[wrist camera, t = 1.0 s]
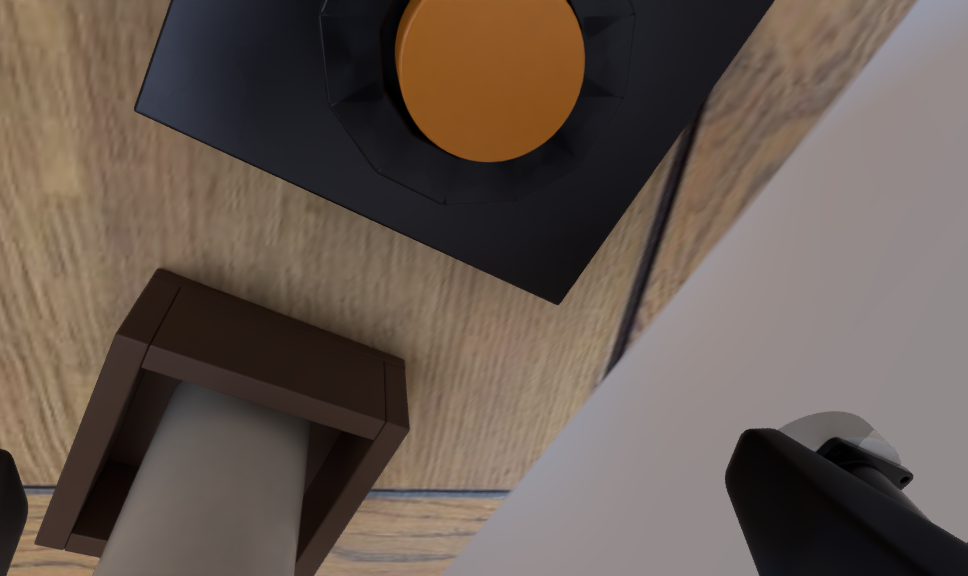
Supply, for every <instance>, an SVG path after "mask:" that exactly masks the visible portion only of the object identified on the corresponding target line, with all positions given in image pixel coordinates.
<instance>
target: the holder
mask: <svg viewBox="0 0 968 576" xmlns="http://www.w3.org/2000/svg"><path fill="white" fill-rule="evenodd" d="M183 381H185V382H189V383H192V384H195V385H198V386H201V387H205V388H208V389H211V390H214V391H217V392H221V393H224V394H227V395H230V396H233V397H237V398H240V399H243V400H246V401H249V402H253V403H256V404H259V405H262V406H265V407H269V408H272V409H275V410H278V411H281V412H285V413H288V414H291V415H294V416H297V417H301V418H304V419H307V420H310V421H312V429H311V437H310V446H309V454H308V463H307V471H306V480H305V488H304V497H303V505H302V514H301V522H300V531H299V539H298V548H297V557H296V565H295V574H294V576H314V575H315V573H316V571H317V570H318V568H319V567H320V565H321V564H322V562H323V561H324V559H325V558H326V556H327V555H328V553H329V552H330V550H331V549H332V547H333V546H334V544H335V543H336V541H337V540H338V538H339V537H340V535H341V534H342V532H343V530H344V529H345V527H346V526H347V524H348V523H349V521H350V520H351V518H352V517H353V515H354V514H355V512H356V511H357V509H358V508H359V506H360V505H361V503H362V502H363V500H364V499H365V497H366V496H367V494H368V493H369V491H370V489H371V488H372V486H373V485H374V483H375V482H376V480H377V479H378V477H379V476H380V474H381V473H382V471H383V470H384V468H385V467H386V465H387V464H388V462H389V461H390V459H391V458H392V456H393V455H394V453H395V452H396V450H397V448H398V447H399V445H400V444H401V442H402V441H403V439H404V438H405V436H406V435H407V433H408V432H409V430H410V427H409V415H408V403H407V390H406V378H405V361H404V360H402V359H399V358H397V357H394V356H391V355H389V354H386V353H383V352H381V351H378V350H375V349H373V348H370V347H367V346H365V345H362V344H359V343H357V342H354V341H351V340H348V339H346V338H343V337H340V336H338V335H335V334H332V333H330V332H327V331H324V330H322V329H319V328H316V327H314V326H311V325H308V324H306V323H303V322H300V321H298V320H295V319H292V318H290V317H287V316H284V315H282V314H279V313H276V312H273V311H271V310H268V309H265V308H263V307H260V306H257V305H255V304H252V303H249V302H247V301H244V300H241V299H239V298H236V297H233V296H231V295H228V294H225V293H223V292H220V291H217V290H215V289H212V288H209V287H207V286H204V285H201V284H198V283H196V282H193V281H190V280H188V279H185V278H182V277H180V276H177V275H174V274H172V273H169V272H166V271H164V270H161V269H157V270H156V271H155V273H154V275H153V276H152V278H151V279H150V281H149V282H148V284H147V286H146V287H145V289H144V290H143V292H142V293H141V295H140V296H139V298H138V300H137V301H136V303H135V304H134V306H133V307H132V309H131V311H130V312H129V314H128V315H127V317H126V318H125V320H124V321H123V323H122V325H121V326H120V328H119V329H118V331H117V332H116V334H115V336H114V339H113V342H112V344H111V347H110V349H109V352H108V355H107V357H106V360H105V362H104V365H103V367H102V370H101V373H100V375H99V378H98V380H97V383H96V385H95V388H94V391H93V393H92V396H91V398H90V401H89V403H88V406H87V409H86V411H85V414H84V416H83V419H82V421H81V424H80V427H79V429H78V432H77V434H76V437H75V439H74V442H73V445H72V447H71V450H70V452H69V455H68V457H67V460H66V463H65V465H64V468H63V470H62V473H61V475H60V478H59V481H58V483H57V486H56V488H55V491H54V493H53V496H52V499H51V501H50V504H49V506H48V509H47V511H46V514H45V517H44V519H43V522H42V524H41V527H40V529H39V532H38V535H37V537H36V540H35V545H40V546H45V547H50V548H55V549H60V550H63V549H64V548H65V551H69V552H74V553H79V554H84V555H89V556H94V557H99V558H100V557H101V554H102V552H103V550H104V547H105V545H106V543H107V540H108V538H109V536H110V534H111V531H112V529H113V527H114V524H115V522H116V520H117V517H118V515H119V513H120V511H121V508H122V506H123V504H124V501H125V499H126V497H127V494H128V492H129V490H130V487H131V485H132V483H133V481H134V478H135V476H136V474H137V471H138V469H139V467H140V464H141V462H142V460H143V458H144V455H145V453H146V451H147V448H148V446H149V444H150V441H151V439H152V437H153V435H154V432H155V430H156V428H157V425H158V423H159V421H160V418H161V416H162V414H163V412H164V409H165V407H166V405H167V402H168V400H169V398H170V396H171V394H172V393H173V391H174V390H175V389H176V387H177V386H178V385H179V384H180V383H181V382H183Z"/></svg>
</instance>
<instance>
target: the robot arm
mask: <svg viewBox="0 0 968 576" xmlns="http://www.w3.org/2000/svg"><path fill="white" fill-rule="evenodd" d="M912 479H913V475H912V473H911V472H910V471H909V470H908V469H907V468H905V467H903V466H901V465H899V464H897V463H894V462H892V461H890V460H888V459H886V458H883V457H881V456H879V455H877V454H875V453H872V452H870V451H868V450H866V449H864V448H861V447H859V446H857V445H855V444H853V443H850V442H848V441H846V440H844V439H842V438H840V437H833V438H830V439H828V440H827V441H826V442H825V443H824V444H823V445H822V446H821V447H820V448H819V449H818V450H817V451H816V452H813V451H812V450H810V449H808V448H807V447H805V446H803V445H802V444H800V443H798V442H797V441H795V440H793V439H792V438H790V437H788V436H787V435H785V434H783V433H782V432H780V431H778V430H776V429H771V428H765V429H764V428H761V429H748V430H746V431H744V433H742V434H741V436H740V438H739V440H738V443H737V445H736V447H735V450H734V453H733V455H732V457H731V460H730V462H729V464H728V467H727V470H726V474H725V483H726V488H727V492H728V494H729V497H730V499H731V502H732V505H733V508H734V510H735V513H736V515H737V518H738V520H739V523H740V526H741V529H742V531H743V534H744V536H745V539H746V541H747V544H748V547H749V550H750V552H751V555H752V557H753V560H754V563H755V565H756V568H757V571H758V573H759V576H968V543H965V542H964V541H962V540H960V539H959V538H957V537H955V536H954V535H952V534H950V533H949V532H947V531H945V530H944V529H942V528H940V527H938V526H937V525H935V524H933V523H932V522H931V521H930V520H929V519H928V518H927V517H926V516H925V515H924V514H923V513H922V512H921V511H920V510H919V509H918V508H917V507H916V506H915V505H914V503H913V502H911V500H910V499H909V498H908V497H907V496H906V495H905V494H904V493H903V492H902V491H901V490H902V489H903V488H904V487H905V486H907V485H908V484H909V483H910V482H911V481H912ZM27 515H28V502H27V497H26V494H25V491H24V488H23V486H22V483H21V480H20V477H19V474H18V471H17V468H16V465H15V462H14V459H13V457H12V455H11V454H10V453H9V452H8V451H6V450H3V449H0V576H6V575H7V572H8V570H9V567H10V564H11V562H12V559H13V556H14V553H15V551H16V548H17V545H18V542H19V540H20V537H21V534H22V532H23V529H24V526H25V523H26V520H27Z"/></svg>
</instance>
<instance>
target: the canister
mask: <svg viewBox="0 0 968 576" xmlns="http://www.w3.org/2000/svg"><path fill="white" fill-rule="evenodd" d="M311 429H312V421H310V420H307V419H304V418H301V417H297V416H294V415H291V414H288V413H285V412H281V411H278V410H275V409H272V408H269V407H265V406H262V405H259V404H256V403H253V402H249V401H246V400H243V399H240V398H237V397H233V396H230V395H227V394H224V393H221V392H217V391H214V390H211V389H208V388H205V387H201V386H198V385H195V384H192V383H189V382H185V381H183V382H181V383H180V384H179V385H178V386H177V387H176V389H175V390H174V391H173V393H172V394H171V396H170V398H169V400H168V402H167V405H166V407H165V409H164V412H163V414H162V416H161V418H160V421H159V423H158V425H157V428H156V430H155V432H154V435H153V437H152V439H151V441H150V444H149V446H148V448H147V451H146V453H145V455H144V458H143V460H142V462H141V464H140V467H139V469H138V471H137V474H136V476H135V478H134V481H133V483H132V485H131V487H130V490H129V492H128V494H127V497H126V499H125V501H124V504H123V506H122V508H121V511H120V513H119V515H118V517H117V520H116V522H115V524H114V527H113V529H112V531H111V534H110V536H109V538H108V540H107V543H106V545H105V547H104V550H103V552H102V554H101V557H100V559H99V561H98V563H97V566H96V568H95V570H94V573H93V575H92V576H294V574H295V565H296V557H297V548H298V539H299V531H300V522H301V514H302V505H303V497H304V488H305V480H306V471H307V463H308V454H309V446H310V437H311Z"/></svg>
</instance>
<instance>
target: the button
mask: <svg viewBox="0 0 968 576" xmlns="http://www.w3.org/2000/svg"><path fill="white" fill-rule="evenodd" d="M395 62H396V70H397V75H398V79H399V84H400V88H401V92H402V96H403V99H404V102H405V104H406V107H407V109H408V111H409V113H410V115H411V117H412V119H413V120H414V122H415V123H416V125H417V126H418V127H419V129H420V130H421V131H422V132H423V133H424V134H425V135H426V136H427V137H428V139H430V140H431V141H432V142H433V143H435V144H436V145H437V146H438V147H440V148H442V149H443V150H445V151H447V152H448V153H451V154H453V155H455V156H457V157H460V158H464V159H467V160H472V161H478V162H498V161H505V160H509V159H513V158H516V157H519V156H522V155H524V154H526V153H528V152H530V151H532V150H534V149H536V148H537V147H539V146H540V145H542V144H543V143H545V142H546V141H547V140H548V139H549V138H550V137H552V136H553V135H554V134H555V133H556V132H557V130H558V129H559V128H560V127H561V126H562V125H563V123H564V122H565V120H566V119H567V118H568V116H569V114H570V113H571V111H572V109H573V107H574V105H575V103H576V100H577V98H578V96H579V93H580V89H581V86H582V82H583V76H584V69H585V51H584V42H583V38H582V33H581V29H580V27H579V24H578V21H577V18H576V16H575V14H574V12H573V10H572V8H571V7H570V5H569V4H568V2H567V1H566V0H410V1H409V3H408V5H407V7H406V8H405V10H404V13H403V15H402V17H401V20H400V23H399V27H398V30H397V35H396V42H395Z"/></svg>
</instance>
